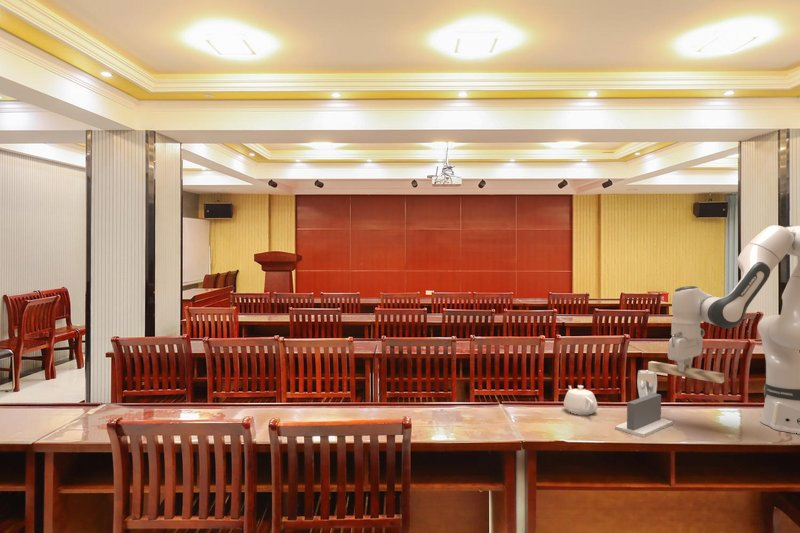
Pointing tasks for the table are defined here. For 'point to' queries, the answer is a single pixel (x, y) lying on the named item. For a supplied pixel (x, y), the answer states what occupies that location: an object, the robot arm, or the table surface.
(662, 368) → the birch bar
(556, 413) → the table surface
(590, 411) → the teapot
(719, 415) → the table surface
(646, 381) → the beer glass
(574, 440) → the table surface
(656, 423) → the stand
